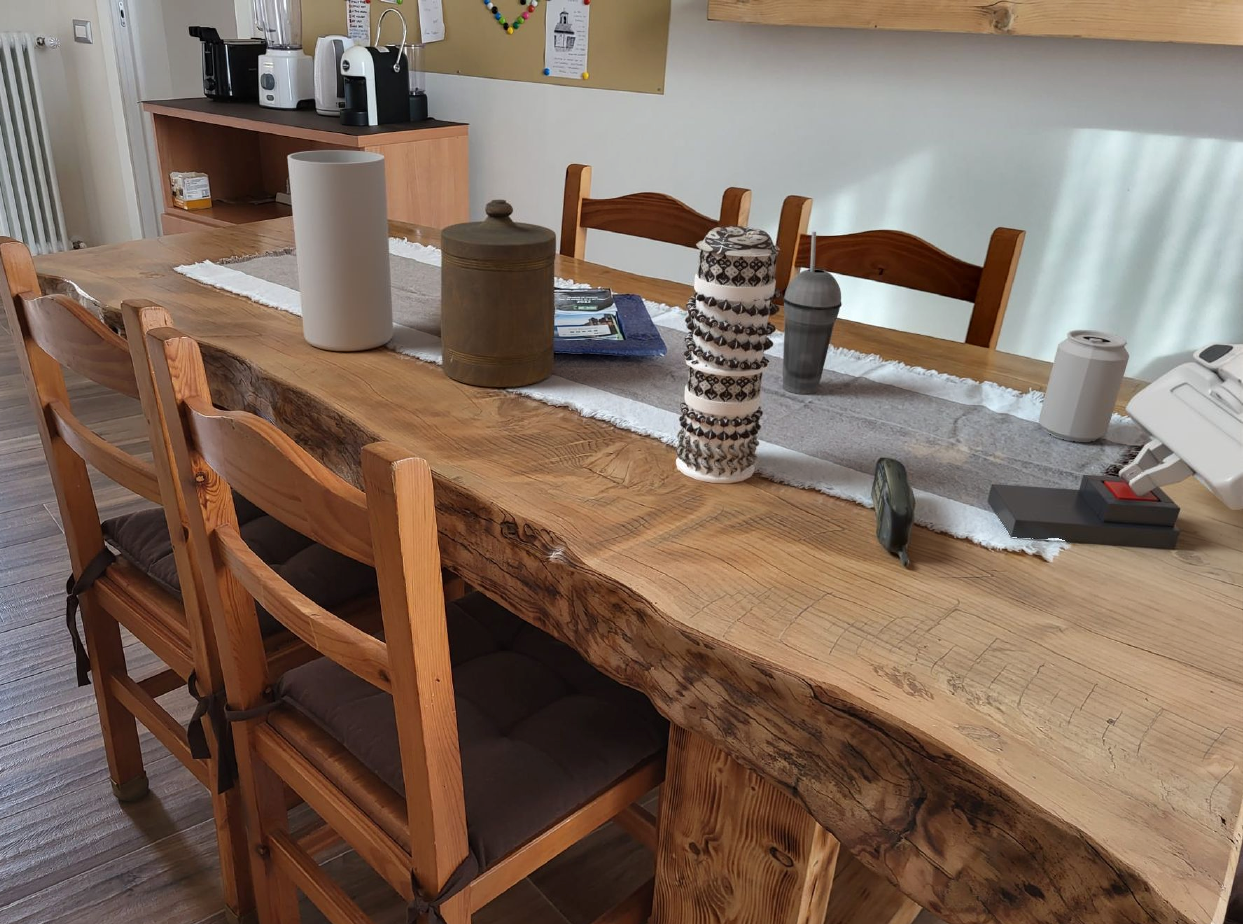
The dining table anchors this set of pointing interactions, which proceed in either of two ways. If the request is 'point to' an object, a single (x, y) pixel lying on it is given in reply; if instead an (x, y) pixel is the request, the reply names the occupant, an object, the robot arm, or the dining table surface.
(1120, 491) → the red rectangular button
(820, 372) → the beverage cup
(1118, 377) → the can
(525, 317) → the wooden container
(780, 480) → the dining table surface
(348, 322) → the cylinder vase
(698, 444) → the decorative candle
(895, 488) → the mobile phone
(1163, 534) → the dark grey stepped block
